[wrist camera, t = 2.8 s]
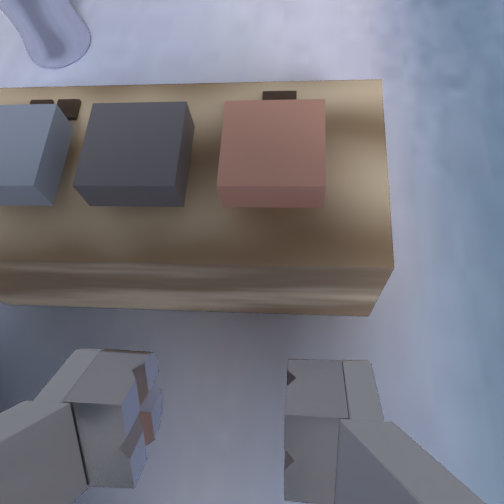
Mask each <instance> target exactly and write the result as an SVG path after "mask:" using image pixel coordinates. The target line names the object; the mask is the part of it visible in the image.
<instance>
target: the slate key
mask: <svg viewBox="0 0 504 504" xmlns="http://www.w3.org/2000/svg"><path fill="white" fill-rule="evenodd" d="M73 129H74V128H73V126H72V125H71V124H70V122H69V121H68V119H67V118H66V116H65V115H64V114H63V112H62V111H61V109H60V108H59V107H58V105H57V104H22V105H0V205H9V206H54V202H55V198H56V195H57V191H58V187H59V183H60V179H61V175H62V171H63V168H64V164H65V160H66V156H67V152H68V148H69V145H70V141H71V137H72V133H73Z"/></svg>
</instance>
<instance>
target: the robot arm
mask: <svg viewBox="0 0 504 504" xmlns="http://www.w3.org/2000/svg"><path fill="white" fill-rule="evenodd" d="M158 372H159V367H158V361H157V356H156V355H155V354H154V352H144V351H129V350H114V349H98V348H79V349H76V350H75V351H74V352H73V353H72V354H71V355H70V356H69V358H68V359H67V360H66V361H65V363H64V364H63V365H62V366H61V367H60V369H59V370H58V371H57V372H56V373H55V375H54V376H53V377H52V378H51V379H50V381H49V382H48V383H47V384H46V385H45V387H44V388H43V389H42V390H41V391H40V393H39V394H38V395H37V396H36V398H35V399H34V400H33V401H26V400H25V401H23V402H21V403H19V404H17V405H15V406H13V407H11V408H9V409H7V410H5V411H3V412H1V413H0V504H71V503H72V502H74V501H75V500H76V499H77V498H78V497H79V496H80V495H82V494H83V493H84V492H85V491H86V490H87V489H88V487H87V486H94V487H115V488H135V486H136V484H137V481H138V479H139V476H140V474H141V471H142V469H143V467H144V464H145V462H146V459H147V455H146V447H145V446H146V445H148V444H149V443H151V442H152V441H153V440H155V437H156V435H157V432H158V429H159V426H160V421H161V415H162V392H161V389H160V388H159V387H158V386H157V384H156V383H155V382H154V380H155V378H156V376H157V374H158ZM284 448H285V465H284V500H286V501H295V502H304V503H313V504H486V503H485V502H483V501H482V500H481V499H480V498H479V497H478V496H477V495H476V494H474V493H473V492H472V491H471V490H470V489H469V488H468V487H466V486H465V485H464V484H463V483H462V482H461V481H460V480H458V479H457V478H456V477H455V476H454V475H453V474H452V473H450V472H449V471H448V470H447V469H446V468H445V467H444V466H442V465H441V464H440V463H439V462H438V461H437V460H436V459H435V458H433V457H432V456H431V455H430V454H429V453H428V452H427V451H425V450H424V449H423V448H422V447H421V446H420V445H419V444H417V443H416V442H415V441H414V440H413V439H412V438H411V437H409V436H408V435H407V434H406V433H405V432H404V431H403V430H401V429H400V428H399V427H398V426H397V425H396V424H395V423H393V422H384V417H383V413H382V409H381V404H380V400H379V395H378V391H377V387H376V382H375V378H374V373H373V369H372V365H371V363H370V361H369V360H342V361H340V360H307V359H288V368H287V387H286V402H285V440H284Z"/></svg>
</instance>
